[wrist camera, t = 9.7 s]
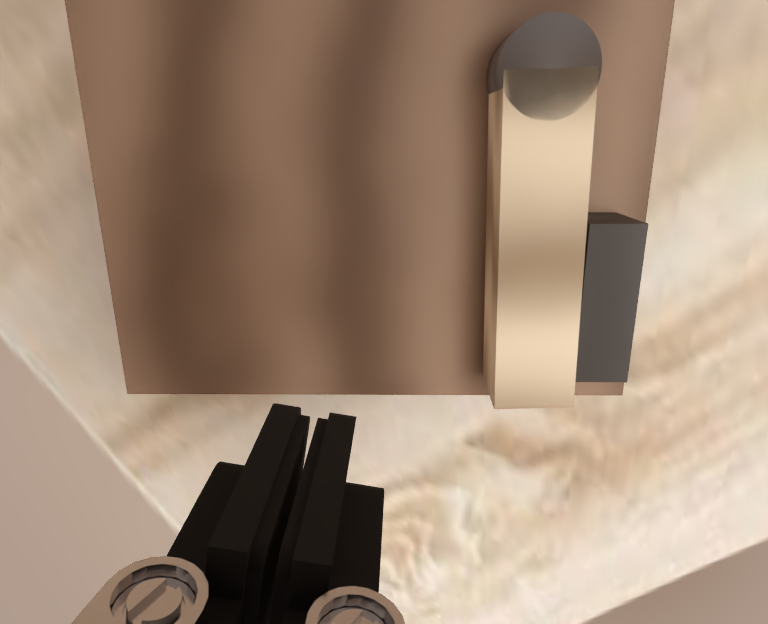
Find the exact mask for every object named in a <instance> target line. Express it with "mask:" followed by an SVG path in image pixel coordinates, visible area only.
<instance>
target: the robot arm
mask: <svg viewBox="0 0 768 624" xmlns="http://www.w3.org/2000/svg"><path fill="white" fill-rule="evenodd" d="M355 422H356V417H354V416H348V415H342V414H336V413H330V414H329V418H328V419H322V418H318V420H317V423H316V427H315V430H314V434H313V437H312V441H311V444H310V447H309V451H308V454H307V458H306V461H305V465H304V458H305V451H306V444H307V437H308V430H309V423H310V416H304V415H301V408H300V407H294V406H288V405H282V404H276V403H274V404H273V405H272V407H271V410H270V412H269V414H268V416H267V418H266V421H265V423H264V425H263V427H262V429H261V431H260V434H259V436H258V438H257V440H256V442H255V444H254V447H253V449H252V451H251V453H250V455H249V457H248V460H247V462H246V464H245V466H244V465H238V464H231V463H225V462H219V463H217V465H216V466H215V468H214V470H213V471H212V473H211V475H210V477H209V479H208V481H207V483H206V484H205V486H204V488H203V490H202V492H201V494H200V495H199V497H198V499H197V501H196V503H195V505H194V506H193V508H192V510H191V512H190V514H189V516H188V518H187V519H186V521H185V523H184V525H183V527H182V529H181V530H180V532H179V534H178V536H177V538H176V540H175V541H174V543H173V545H172V547H171V549H170V551H169V552H168V554H167V556H163V557H150V558H147V559H144V560H140V561H137V562H134V563H132V564H130V565H128V566H127V567H125V568H123V569H121V570H119V571H118V572H117V573H116V574H115V575H114V576H113V577H112V578H110V579H109V580H108V581H107V582H106V584H105V585H104V586H103V587H102V588H101V589H100V591H99V592H98V593H97V594H96V595H95V596H94V597H93V599H92V600H91V601H90V602H89V603H88V604H87V606H86V607H85V608H84V609H83V610H82V612H81V613H80V614H79V615H78V616H77V617H76V618H75V620H74V621H73V622H72V623H71V624H405V622H404V619H403V616H402V614H401V613H400V612H399V610H398V609H397V607H396V606H395V605H394V603H392V602H391V601H390V600H388V599H387V598H386V597H385V596H383V595H382V594H380V593H379V576H380V558H381V540H382V522H383V504H384V488H378V487H372V486H366V485H360V484H354V483H347V482H346V477H347V471H348V465H349V458H350V452H351V446H352V440H353V434H354V428H355ZM303 465H304V468H303Z"/></svg>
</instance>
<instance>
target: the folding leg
mask: <svg viewBox="0 0 768 624" xmlns="http://www.w3.org/2000/svg"><path fill="white" fill-rule="evenodd" d="M601 70H602V52H601V48H600V44H599V42H598V39H597V37H596V35H595V33H594V32H593V30H592V29H591V28H590V27H589V26H588V25H587V24H586V23H585V22H584V21H583V20H581V19H580V18H578V17H576V16H574V15H571V14H568V13H564V12H548V13H544V14H540V15H538V16H535V17H533V18H531V19H530V20H528V21H527V22H525V23H524V24H523V25H521V26H520V27H519V28H518V29H517V30H516V31H514V32H513V33H512V34H511V35H510V36H509V37H507V38H506V39H505V40H504V41H503V42H502V43H501V44H500V45H499V46H498V48H497V49H496V50H495V52H494V53H493V55H492V57H491V59H490V62H489V65H488V69H487V77H486V82H487V90H488V93H489V107H488V156H487V205H486V255H485V304H484V353H483V378H484V381H485V384H486V387H487V389H488V392H489V395H490V398H491V401H492V404H493V406H494V409H515V408H564V407H574V394H575V381H576V367H577V354H578V340H579V327H580V313H581V300H582V287H583V273H584V260H585V246H586V233H587V219H588V206H589V192H590V179H591V166H592V152H593V139H594V125H595V112H596V98H597V85H598V82H599V79H600V75H601Z"/></svg>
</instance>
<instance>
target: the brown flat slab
mask: <svg viewBox="0 0 768 624" xmlns="http://www.w3.org/2000/svg"><path fill="white" fill-rule="evenodd" d="M674 2H675V0H65V5H66V11H67V17H68V24H69V30H70V36H71V43H72V49H73V55H74V61H75V68H76V74H77V80H78V87H79V93H80V99H81V105H82V112H83V118H84V124H85V130H86V137H87V143H88V149H89V156H90V162H91V168H92V174H93V181H94V187H95V193H96V200H97V206H98V212H99V218H100V225H101V231H102V237H103V243H104V250H105V256H106V262H107V269H108V275H109V281H110V287H111V294H112V300H113V306H114V313H115V319H116V325H117V331H118V338H119V344H120V350H121V356H122V363H123V369H124V375H125V382H126V388H127V394H374V395H489V392H488V389H487V387H486V384H485V381H484V378H483V353H484V304H485V255H486V205H487V156H488V107H489V93H488V90H487V82H486V77H487V69H488V65H489V62H490V59H491V57H492V55H493V53H494V52H495V50H496V49H497V48H498V46H499V45H500V44H501V43H502V42H503V41H504V40H505V39H506V38H507V37H509V36H510V35H511V34H512V33H513V32H514V31H516V30H517V29H518V28H519V27H520V26H521V25H523V24H524V23H525V22H527V21H528V20H530V19H531V18H533V17H535V16H538V15H540V14H544V13H548V12H564V13H568V14H571V15H574V16H576V17H578V18H580V19H581V20H583V21H584V22H585V23H586V24H587V25H588V26H589V27H590V28H591V29H592V30H593V32H594V33H595V35H596V37H597V39H598V42H599V44H600V48H601V52H602V70H601V75H600V79H599V82H598V85H597V98H596V112H595V125H594V139H593V152H592V166H591V179H590V192H589V206H588V219H587V233H586V246H585V260H584V273H583V287H582V300H581V313H580V327H579V340H578V354H577V367H576V381H575V394H574V395H622V394H623V386H624V382H627V378H628V370H629V363H630V355H631V348H632V340H633V333H634V326H635V318H636V311H637V303H638V296H639V288H640V281H641V273H642V266H643V259H644V251H645V244H646V236H647V229H648V224H647V223H645V220H646V213H647V205H648V198H649V190H650V183H651V175H652V168H653V160H654V153H655V145H656V138H657V130H658V123H659V115H660V107H661V100H662V92H663V85H664V77H665V70H666V62H667V55H668V47H669V40H670V32H671V25H672V17H673V9H674Z"/></svg>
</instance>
